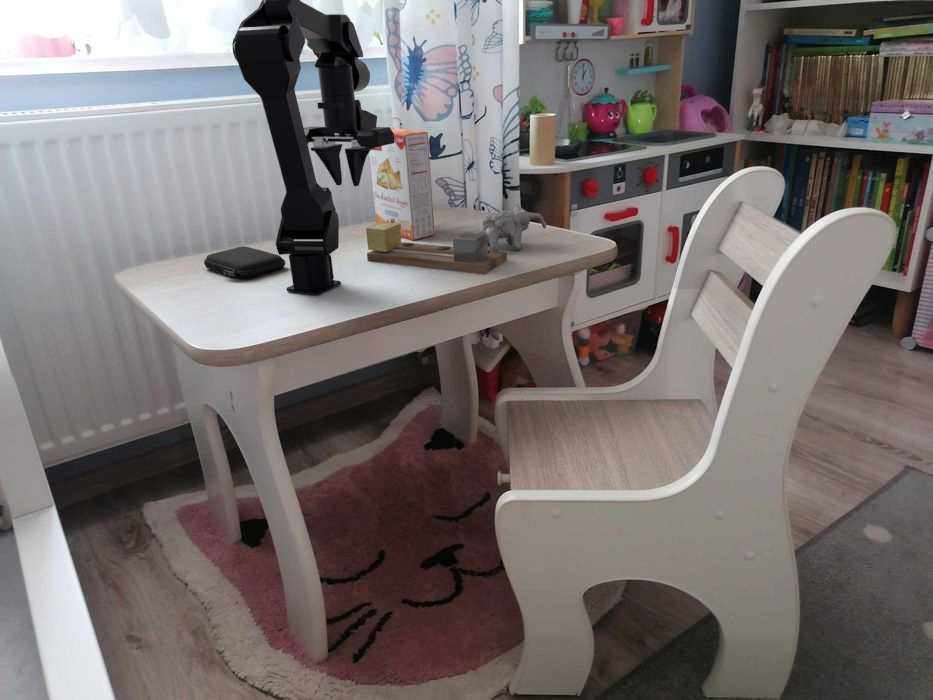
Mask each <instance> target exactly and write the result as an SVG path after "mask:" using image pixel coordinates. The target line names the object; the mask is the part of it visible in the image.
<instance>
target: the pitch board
mask: <svg viewBox="0 0 933 700" xmlns="http://www.w3.org/2000/svg"><path fill="white" fill-rule="evenodd" d="M452 245H453V246H446V245H439V244H438V245H437V244H426V243H417V242H416V243H415V242H407V241H405V242H403V241H401V245H400V246H398V247H396V248H393V249H391V250H389V251H387V252H385V251H375V250H370V251H367V253H366V258H367V262H373V263H383V264H391V265H397V266H398V265H400V266H406V267H407V266H408V267H416V268H418V267H419V268H424V269H425V268H426V269H427V268H428V269H437V270H445V271H452V272H463V273H470V274H471V273H472V274H479V275H485V274H487V273H488V272H490V271H492V270H493V269H495V268H496V267H498V266H501V264H503V263H504V262H506V261H507V260H508V255H507V254H508V253H507V251H502V250H499V251H492V250H491V249H490V250H489V249H488V248H489V247H488V246H489V245H487V234H486V232H483V231H480V232H475V231H474V232H471V231H466V232H464V233H462V234H460V235H458V236H456V237H453V238H452Z"/></svg>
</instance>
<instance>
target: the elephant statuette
mask: <svg viewBox="0 0 933 700" xmlns="http://www.w3.org/2000/svg"><path fill="white" fill-rule="evenodd" d="M534 219H538V220H539V221H540V223H541V227H542V229H543V228H544V229H546V228H547V223H546V222H545V220H544V217H543V216H542V214H541V213H537V212H529V211H527V210H526V209H523V208H522V207H521V206H519V204H518V203H516V204H515V205H514V207H513V208H512V209H509V210H503V209H502V210H500V211H498V212H493V213H490V214H489V215H487V216H486V217H485V219H483V220H482V221H481V222H482V227H483V228H482V232H486V234H487V245H488V246H490V250H492V251H500V246H499V242H498V241H499V240H501V239H502V240H503V239H504V240H505V242H506V243H507V244H508V245H511V246H512V249H513V251H515V252H518V251H519V250H521V248H522V244H521V242H522V232H524V231H526V230H527V229H528V228H529V225H530V222H531V220H534Z"/></svg>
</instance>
